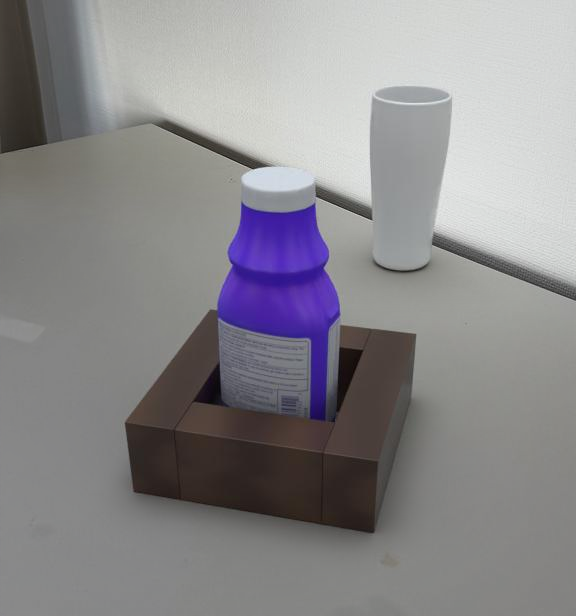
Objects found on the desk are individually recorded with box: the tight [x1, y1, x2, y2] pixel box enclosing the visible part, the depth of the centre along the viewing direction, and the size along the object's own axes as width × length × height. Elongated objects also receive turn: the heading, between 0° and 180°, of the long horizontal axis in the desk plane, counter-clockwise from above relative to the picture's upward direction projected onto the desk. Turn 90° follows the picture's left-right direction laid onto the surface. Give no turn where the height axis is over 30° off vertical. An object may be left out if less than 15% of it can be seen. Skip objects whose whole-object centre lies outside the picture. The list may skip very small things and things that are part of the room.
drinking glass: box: [368, 84, 453, 272], centre depth 76 cm, size 7×7×15 cm
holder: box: [124, 309, 417, 533], centre depth 55 cm, size 14×14×5 cm
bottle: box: [216, 166, 342, 423], centre depth 52 cm, size 7×6×17 cm
